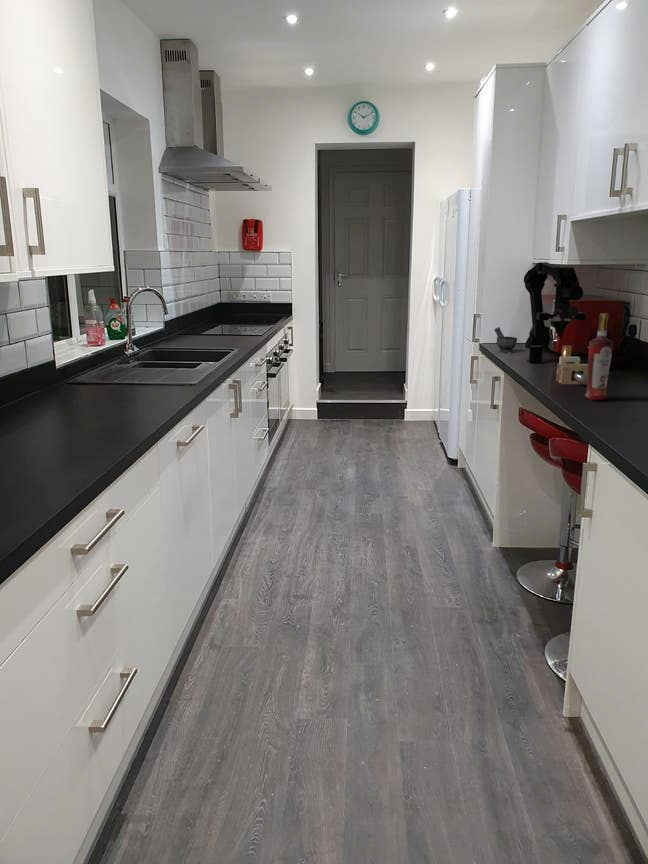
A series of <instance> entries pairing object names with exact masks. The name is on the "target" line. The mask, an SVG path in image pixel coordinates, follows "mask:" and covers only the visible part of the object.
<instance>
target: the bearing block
mask: <svg viewBox="0 0 648 864" xmlns="http://www.w3.org/2000/svg"><path fill="white" fill-rule="evenodd" d="M572 371H578V373H579V374H581V375H583V376H585V377H586V381H585V382H583V383H582V382H580V381H578V380H576V379H575V378H572V377H571V375H572ZM587 376H588V363H580V364H573V363H570V364H559V363H557V364H556V376H555V377H556V378H555V381H556V382H557V381H558V382H557V383H559V384H560V383H561V384H560V385H587Z"/></svg>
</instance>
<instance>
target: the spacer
mask: <svg viewBox="0 0 648 864" xmlns="http://www.w3.org/2000/svg"><path fill="white" fill-rule="evenodd" d="M558 360H559V361H558V364H566V362H570V363H572V364H581V357H580V356H571V357H561V356H559V358H558ZM576 372H578V371H576ZM571 378H573V377H571Z"/></svg>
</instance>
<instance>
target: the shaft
mask: <svg viewBox="0 0 648 864" xmlns="http://www.w3.org/2000/svg"><path fill="white" fill-rule="evenodd" d="M572 348H573V346H572V345H568V344H567V345H561V356H560V357H572V350H573V349H572ZM566 364H571V362H566ZM572 377H573V378H575V379H576V380H578V381H580V382H582V383H583V382H585V381H586V377H585V376H583V375H581V374H579V373H578V372H576V371H572V375H571V378H572Z"/></svg>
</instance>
